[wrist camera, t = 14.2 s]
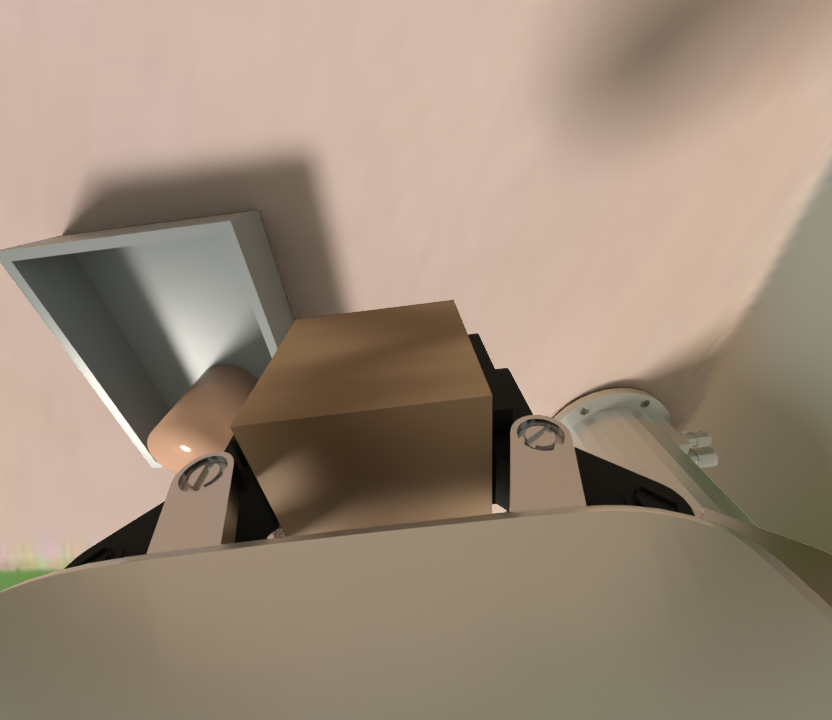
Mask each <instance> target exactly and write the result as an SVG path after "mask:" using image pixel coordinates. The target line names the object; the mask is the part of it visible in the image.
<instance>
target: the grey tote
mask: <svg viewBox="0 0 832 720" xmlns="http://www.w3.org/2000/svg"><path fill="white" fill-rule="evenodd" d="M0 262H1V264H2V265H3V266H4V268H5V269H6V271H7V272H8V273H9V275H10V276H11V277H12V279H13V280H14V281H15V283H16V284H17V285H18V287H19V288H20V289H21V291H22V292H23V294H24V295H25V296H26V298H27V299H28V300H29V302H30V303H31V304H32V306H33V307H34V308H35V310H36V311H37V313H38V314H39V315H40V317H41V318H42V319H43V321H44V322H45V323H46V325H47V326H48V327H49V329H50V330H51V332H52V333H53V334H54V336H55V337H56V338H57V340H58V341H59V342H60V344H61V345H62V346H63V348H64V349H65V351H66V352H67V353H68V355H69V356H70V357H71V359H72V360H73V361H74V363H75V364H76V365H77V367H78V368H79V370H80V371H81V372H82V374H83V375H84V376H85V378H86V379H87V380H88V382H89V383H90V384H91V386H92V387H93V388H94V390H95V391H96V393H97V394H98V395H99V397H100V398H101V399H102V401H103V402H104V403H105V405H106V406H107V407H108V409H109V410H110V412H111V413H112V414H113V416H114V417H115V418H116V420H117V421H118V422H119V424H120V425H121V426H122V428H123V429H124V431H125V432H126V433H127V435H128V436H129V437H130V439H131V440H132V441H133V443H134V444H135V445H136V447H137V448H138V450H139V451H140V452H141V454H142V455H143V456H144V458H145V459H146V460H147V462H148V463H149V464H150V466H151V467H152V468H158V467H163V466H162V465H160V464H159V463H158V462H157V461H156V460H155V459H154V458H153V457H152V455H151V454H150V452H149V450H148V446H147V439H148V436H149V434H150V433H151V432H152V431H153V429H154V428H155V427H156V426H157V425H158V424H159V423H160V421H161V420H162V419H163V418H164V417H165V416H166V415H167V414H168V412H169V411H170V410H171V409H172V408H173V407H174V406H175V405H176V403H177V402H178V401H179V400H180V399H181V398H182V397H183V396H184V394H185V393H186V392H187V391H188V390H189V389H190V388H191V386H192V385H193V384H194V383H195V382H196V381H197V380H198V379H199V377H200V376H201V375H202V374H203V373H204V372H205V371H206V370H207V369H209V368H210V367H213V366H216V365H233V366H237V367H240V368H242V369H244V370H246V371H248V372H249V373H251V374H252V375H253V376H254V377H255V378H256V379H257V380H259V379H260V377H261V375H262V374H263V372H264V371H265V369H266V367H267V366H268V364H269V362H270V361H271V359H272V358H273V356H274V354H275V353H276V351H277V349H278V348H279V346H280V345H281V343H282V341H283V340H284V338H285V336H286V335H287V333H288V332H289V330H290V328H291V327H292V325H293V323H294V322H295V320H294V317H293V314H292V311H291V308H290V305H289V302H288V299H287V296H286V293H285V290H284V286H283V283H282V280H281V277H280V274H279V271H278V268H277V265H276V262H275V259H274V256H273V252H272V249H271V246H270V243H269V240H268V237H267V234H266V231H265V228H264V225H263V222H262V219H261V215H260V212H259V210H252V211H245V212H237V213H229V214H222V215H214V216H207V217H199V218H191V219H184V220H176V221H169V222H161V223H153V224H146V225H138V226H130V227H123V228H115V229H108V230H100V231H92V232H85V233H77V234H70V235H62V236H57V237H53V238H49V239H45V240H41V241H36V242H32V243H28V244H24V245H19V246H15V247H11V248H7V249H3V250H0Z"/></svg>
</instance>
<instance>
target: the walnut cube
mask: <svg viewBox="0 0 832 720" xmlns="http://www.w3.org/2000/svg"><path fill="white" fill-rule="evenodd" d="M230 428H231V430H232V432H233V434H234V436H235V438H236V440H237V442H238V444H239V446H240V447H241V449H242V451H243V453H244V455H245V457H246V459H247V461H248V463H249V465H250V467H251V469H252V471H253V473H254V475H255V477H256V478H257V480H258V482H259V484H260V486H261V488H262V490H263V492H264V494H265V496H266V498H267V500H268V502H269V504H270V506H271V507H272V509H273V511H274V513H275V515H276V517H277V519H278V521H279V523H280V525H281V527H282V529H283V531H284V533H285V535H286V537H289V536H297V535H306V534H315V533H323V532H332V531H341V530H350V529H359V528H367V527H376V526H385V525H394V524H403V523H412V522H421V521H431V520H440V519H449V518H458V517H468V516H477V515H486V514H492V393H491V391H490V388H489V386H488V383H487V381H486V378H485V376H484V374H483V371H482V369H481V366H480V364H479V361H478V359H477V356H476V354H475V351H474V349H473V347H472V344H471V342H470V339H469V337H468V334H467V332H466V329H465V327H464V324H463V322H462V320H461V317H460V315H459V312H458V310H457V307H456V305H455V302H454V300H449V301H441V302H433V303H425V304H417V305H409V306H401V307H393V308H385V309H377V310H369V311H361V312H353V313H345V314H337V315H329V316H321V317H312V318H304V319H296V320H295V322H294V323H293V325H292V327H291V328H290V330H289V332H288V333H287V335H286V336H285V338H284V340H283V341H282V343H281V345H280V346H279V348H278V349H277V351H276V353H275V354H274V356H273V358H272V359H271V361H270V362H269V364H268V366H267V367H266V369H265V371H264V372H263V374H262V375H261V377H260V379H259V380H258V382H257V384H256V385H255V387H254V389H253V390H252V392H251V393H250V395H249V397H248V398H247V400H246V402H245V403H244V405H243V406H242V408H241V410H240V411H239V413H238V415H237V416H236V418H235V419H234V421H233V423H232V424H231V426H230Z"/></svg>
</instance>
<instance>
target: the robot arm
mask: <svg viewBox="0 0 832 720" xmlns="http://www.w3.org/2000/svg"><path fill="white" fill-rule="evenodd" d="M468 337H469V339H470V342H471V344H472V347H473V349H474V351H475V354H476V356H477V359H478V361H479V364H480V366H481V369H482V371H483V374H484V376H485V378H486V381H487V383H488V386H489V388H490V391H491V393H492V504H498V505H499V506H501V507H503V508H504V509H506V510H507V512H505V513H495V514H486V515H477V516H468V517H458V518H449V519H440V520H431V521H421V522H412V523H403V524H394V525H385V526H376V527H367V528H359V529H350V530H341V531H332V532H323V533H315V534H306V535H297V536H289V537H280V538H274V534H273V532H274V531H275V530H277V529H278V528H282V527H281V525H280V523H279V521H278V519H277V517H276V515H275V513H274V511H273V509H272V507H271V506H270V504H269V502H268V500H267V498H266V496H265V494H264V492H263V490H262V488H261V486H260V484H259V482H258V480H257V478H256V477H255V475H254V473H253V471H252V469H251V467H250V465H249V463H248V461H247V459H246V457H245V455H244V453H243V451H242V449H241V447H240V446H239V444H238V442H237V440H236V438H235V436H234V435H233V436H232V438H231V440H230V442H229V444H228V445H227V447H226V449H225V450H224V452H218V451H217V452H212V453H208V454H205V455H202V456H200V457H198V458H196V459H194V460H193V461H191V462H189V463H188V464H187V465H185V466H184V467H183V468H182V469H181V470H180V471H179V472H178V473H177V474H176V475H175V477H174V479H173V481H172V483H171V486H170V488H169V491H168V494H167V497H166V500H165V501H164V502H163V503H161V504H160V505H158V506H156V507H155V508H153V509H152V510H150V511H148V512H147V513H145V514H144V515H142V516H140V517H139V518H137V519H136V520H134V521H132V522H131V523H129V524H128V525H126V526H124V527H123V528H121V529H120V530H118V531H116V532H115V533H113V534H112V535H110V536H108V537H107V538H105V539H104V540H102V541H100V542H99V543H97V544H96V545H94V546H92V547H91V548H89V549H88V550H86V551H85V552H84V553H82V554H81V555H79V556H78V557H77V558H75V559H74V560H73V561H72V562H71V563H70V564H69V565H68V566H67V567H66V568H65V569H63V570H59V571H55V572H52V573H49V574H46V575H43V576H40V577H36V578H33V579H30V580H27V581H24V582H22V583H20V584H17V585H15V586H12V587H10V588H7V589H5V590H3V591H0V720H832V555H831V554H828V553H827V552H824V551H822V550H820V549H817V548H814V547H811V546H809V545H806V544H803V543H800V542H797V541H795V540H792V539H789V538H787V537H784V536H781V535H778V534H776V533H773V532H770V531H767V530H765V529H762V528H759V527H758V526H757V525H756V524H755V523H754V522H753V521H752V520H751V519H750V518H749V517H748V516H746V514H745V513H744V512H743V511H742V510H741V509H740V508H739V507H738V506H737V505H736V504H735V503H734V502H733V501H732V500H731V499H730V498H729V497H728V496H727V495H726V494H725V493H724V492H723V491H722V490H721V489H720V488H719V487H718V486H717V485H716V484H715V483H714V482H713V481H712V480H711V479H710V478H709V476H707V474H706V473H705V472H704V471H703V470H702V469H701V468H704V467H712V466H716V465H717V464H718V457H717V454H716V452H715V451H714V450H713V449H712V448H711V447H709V445H711V441H712V439H711V437H710V435H709V434H708V433H707V432H705V431H699V432H691V433H688V434H682V433H680V432H678V431H676V430H675V429H674V428H673V427H672V425H671V417H670V415H669V412H668V410H667V409H666V408H665V406H664V405H663V404H662V403H661V402H660V401H659V400H657V399H656V398H655V397H654V396H652V395H651V394H649V393H647V392H644V391H642V390H637V389H633V388H614V389H606V390H602V391H598V392H595V393H592V394H589V395H587V396H584V397H582V398H580V399H578V400H576V401H575V402H573V403H571V404H569V405H568V406H567V407H565V408H564V409H563V410H562V411H560V412H559V413H558V414H557V415H556V416H555V417H554V418H551V417H548V416H542V415H533V414H532V412H531V410H530V408H529V406H528V404H527V403H526V401H525V399H524V397H523V395H522V393H521V391H520V389H519V388H518V386H517V384H516V382H515V380H514V378H513V376H512V374H511V373H510V371H509V369H508V368H503V369H495V368H494V366H493V364H492V362H491V360H490V358H489V356H488V353H487V351H486V349H485V347H484V345H483V343H482V341H481V338H480V336H479V334H469V335H468ZM690 447H693V448H690Z"/></svg>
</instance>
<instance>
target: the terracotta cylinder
mask: <svg viewBox="0 0 832 720" xmlns="http://www.w3.org/2000/svg"><path fill="white" fill-rule="evenodd" d="M257 382H258V380H257V379H256V378H255V377H254V376H253V375H252V374H251V373H249V372H248V371H246V370H244V369H242V368H240V367H237V366H233V365H216V366H213V367H210V368H209V369H207V370H206V371H205V372H204V373H203V374H202V375H201V376H200V377H199V379H198V380H197V381H196V382H195V383H194V384H193V385H192V386H191V388H190V389H189V390H188V391H187V392H186V393H185V394H184V396H183V397H182V398H181V399H180V400H179V401H178V402H177V403H176V405H175V406H174V407H173V408H172V409H171V410H170V411H169V412H168V414H167V415H166V416H165V417H164V418H163V419H162V420H161V421H160V423H159V424H158V425H157V426H156V427H155V428H154V429H153V431H152V432H151V433H150V434H149V436H148V439H147V446H148V450H149V452H150V454H151V455H152V457H153V458H154V459H155V460H156V461H157V462H158V463H159V464H160V465H162V466H163V467H165V468H167V469H168V470H170V471H172V472H175V473H178V472H179V471H180V470H181V469H182V468H183V467H184V466H185V465H187V464H188V463H189V462H191V461H193V460H194V459H196V458H198V457H200V456H202V455H205V454H208V453H212V452H217V451H218V452H224V450H225V449H226V447H227V445H228V444H229V442H230V440H231V438H232V436H233V435H234V434H233V432H232V430H231V428H230V426H231V424H232V423H233V421H234V419H235V418H236V416H237V415H238V413H239V411H240V410H241V408H242V406H243V405H244V403H245V402H246V400H247V398H248V397H249V395H250V393H251V392H252V390H253V389H254V387H255V385H256V384H257Z"/></svg>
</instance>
